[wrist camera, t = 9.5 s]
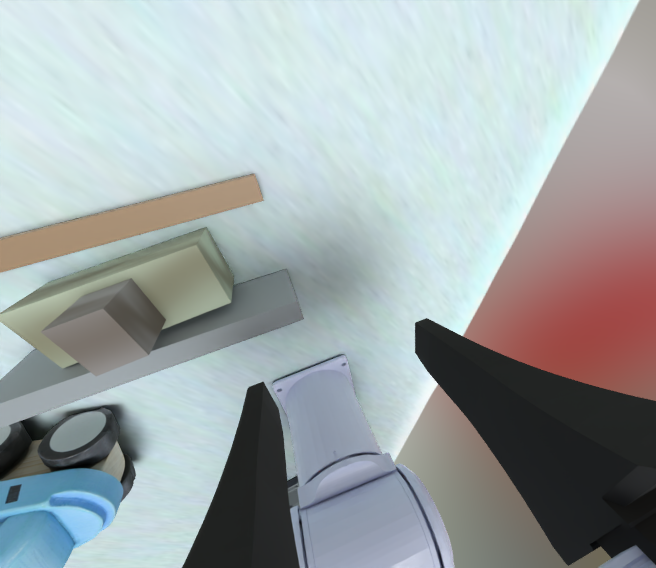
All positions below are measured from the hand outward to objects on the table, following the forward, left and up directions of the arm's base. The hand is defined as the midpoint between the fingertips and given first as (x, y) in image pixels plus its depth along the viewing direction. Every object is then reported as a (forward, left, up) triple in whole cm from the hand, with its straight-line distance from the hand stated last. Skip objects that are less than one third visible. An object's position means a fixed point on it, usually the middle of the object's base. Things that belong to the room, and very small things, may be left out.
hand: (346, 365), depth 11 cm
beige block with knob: (+3, +10, -11) cm, 15 cm away
